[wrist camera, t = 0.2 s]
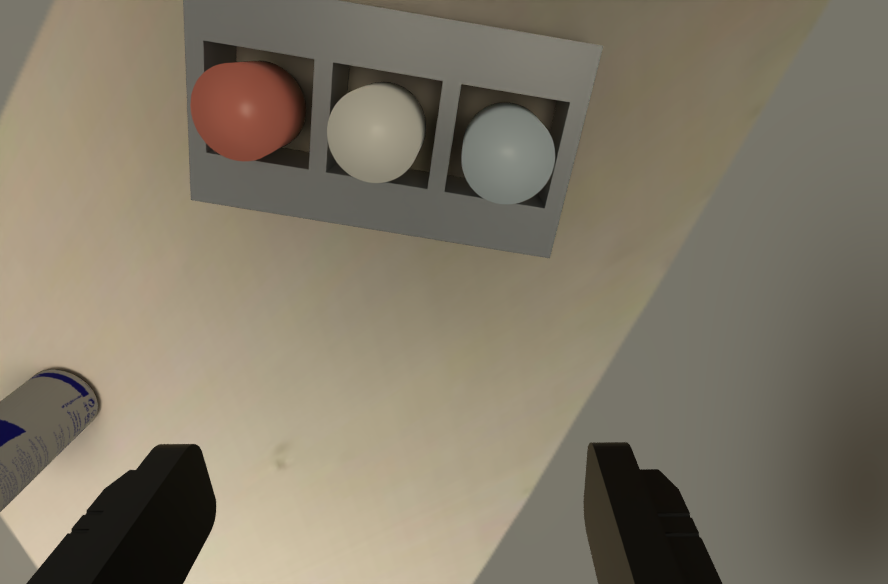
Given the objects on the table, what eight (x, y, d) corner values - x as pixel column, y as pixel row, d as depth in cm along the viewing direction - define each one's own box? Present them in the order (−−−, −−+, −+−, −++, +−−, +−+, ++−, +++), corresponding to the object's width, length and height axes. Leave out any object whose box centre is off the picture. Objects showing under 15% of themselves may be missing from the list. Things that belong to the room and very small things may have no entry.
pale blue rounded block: (470, 95, 31) (470, 102, 27) (554, 110, 31) (565, 118, 27) (456, 179, 33) (454, 196, 29) (535, 192, 33) (543, 211, 29)
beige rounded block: (346, 75, 31) (330, 79, 27) (431, 89, 31) (426, 95, 27) (340, 160, 33) (324, 175, 29) (420, 173, 33) (413, 189, 29)
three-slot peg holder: (218, -18, 32) (182, -27, 28) (586, 45, 33) (603, 45, 29) (221, 182, 37) (190, 199, 33) (541, 235, 38) (549, 258, 34)
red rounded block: (222, 54, 31) (188, 55, 27) (307, 68, 31) (285, 71, 27) (223, 141, 33) (192, 153, 29) (303, 154, 33) (282, 168, 29)
